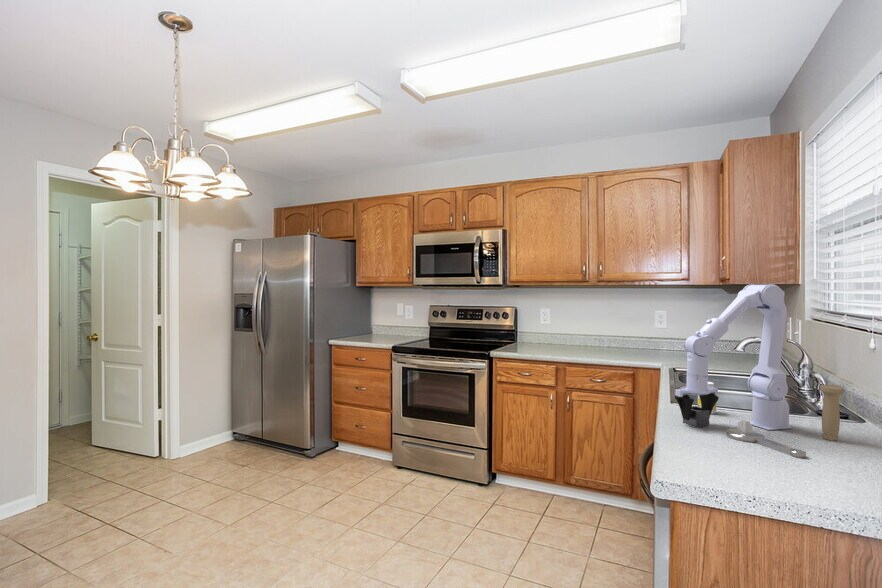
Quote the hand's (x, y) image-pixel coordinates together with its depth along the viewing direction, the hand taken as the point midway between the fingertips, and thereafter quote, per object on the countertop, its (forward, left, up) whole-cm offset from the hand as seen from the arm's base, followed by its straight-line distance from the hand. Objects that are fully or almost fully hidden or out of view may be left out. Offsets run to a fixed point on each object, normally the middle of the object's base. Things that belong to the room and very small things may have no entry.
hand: (695, 418), depth 139 cm
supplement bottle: (-16, -11, -2) cm, 20 cm away
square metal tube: (0, 0, -2) cm, 2 cm away
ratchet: (-4, +19, -2) cm, 19 cm away
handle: (-27, +20, -2) cm, 34 cm away
